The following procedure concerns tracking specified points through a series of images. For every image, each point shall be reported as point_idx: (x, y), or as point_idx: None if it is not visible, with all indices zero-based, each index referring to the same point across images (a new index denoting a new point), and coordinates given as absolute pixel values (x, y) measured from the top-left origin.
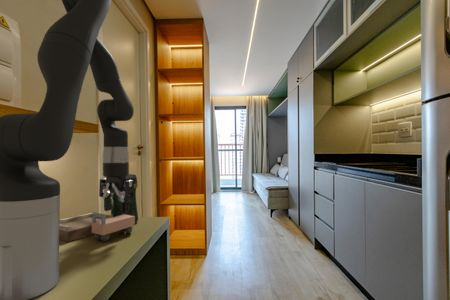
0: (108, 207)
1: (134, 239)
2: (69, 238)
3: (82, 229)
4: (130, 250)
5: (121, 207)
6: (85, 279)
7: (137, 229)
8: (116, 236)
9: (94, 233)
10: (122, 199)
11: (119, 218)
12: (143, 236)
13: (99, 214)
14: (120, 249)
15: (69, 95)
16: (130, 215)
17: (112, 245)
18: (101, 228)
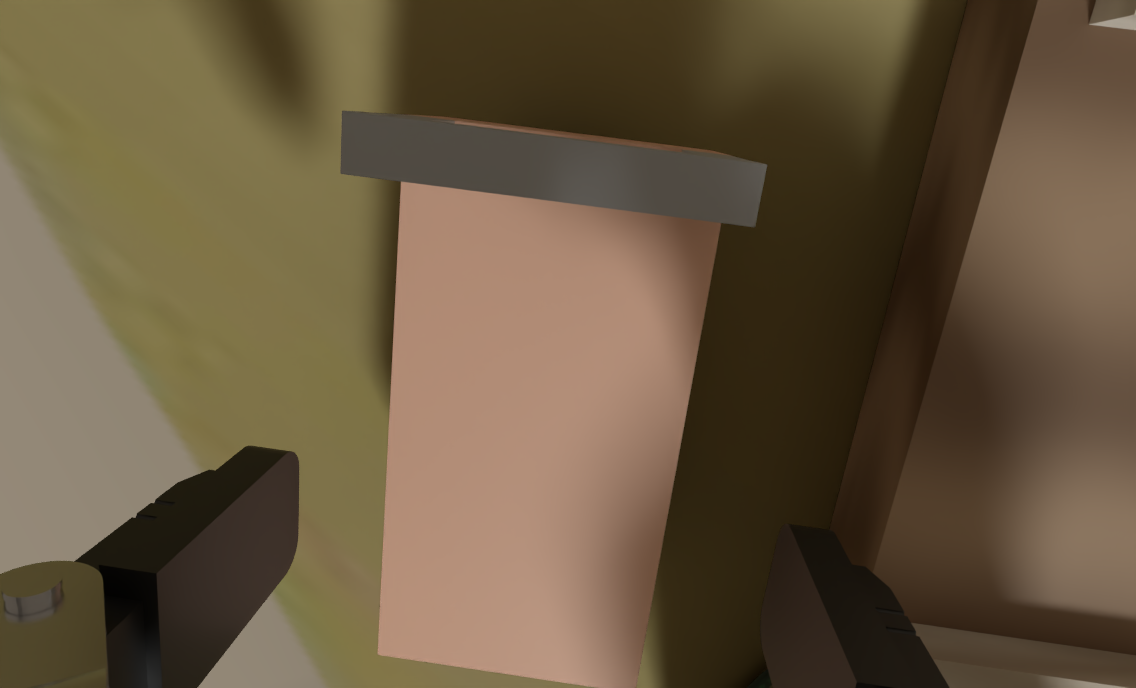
0: (781, 608)
1: (265, 356)
2: (984, 4)
3: (970, 192)
4: (28, 92)
5: (216, 502)
6: None
7: None
8: None
9: (881, 337)
10: (12, 604)
11: (490, 492)
12: None
13: (472, 126)
14: (144, 72)
15: None
16: (477, 668)
17: (327, 128)
18: (461, 120)
